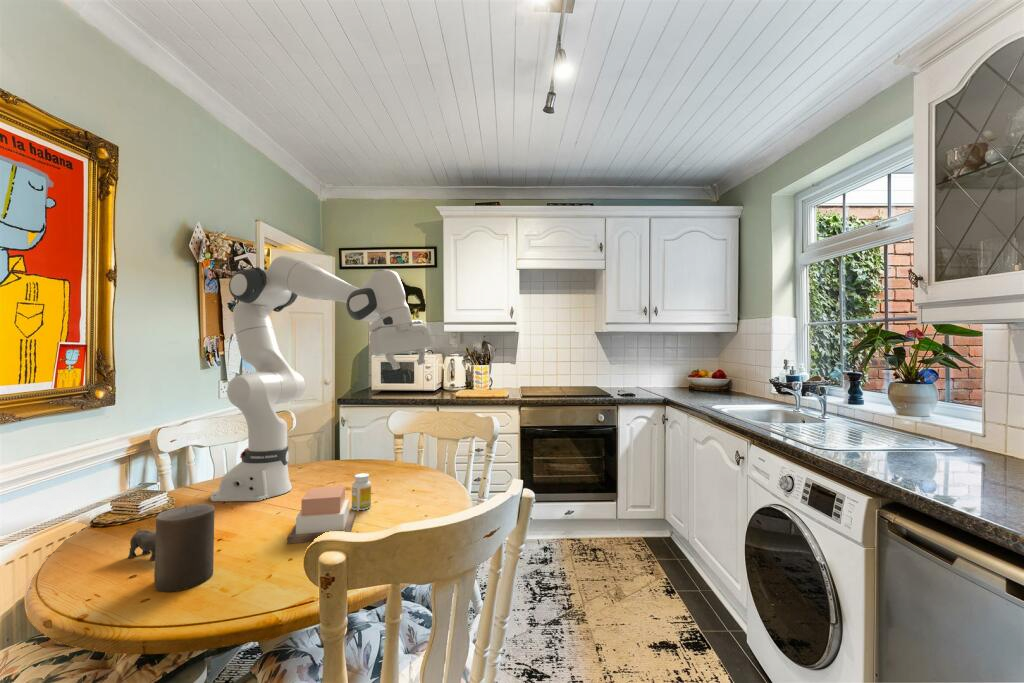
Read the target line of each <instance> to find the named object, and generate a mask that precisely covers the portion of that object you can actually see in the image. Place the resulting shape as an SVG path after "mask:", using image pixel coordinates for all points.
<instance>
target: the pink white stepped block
mask: <svg viewBox="0 0 1024 683" xmlns="http://www.w3.org/2000/svg"><path fill="white" fill-rule="evenodd" d="M345 497H346V486H345V485H343V486H342V485H341V486H340V485H338V486H325V487H311V488H308V489H307V490H306V493H305V494H304V495H303V497H302V499H301V509H300V511H299V512H298V514H297V515H296V517H295V524H296V534H305V533H317V532H328V531H340V530H344V528H345V525H346V522H347V518H348V515H349V512H350V499H349V498H348V499H346V498H345Z"/></svg>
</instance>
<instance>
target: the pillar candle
mask: <svg viewBox="0 0 1024 683" xmlns="http://www.w3.org/2000/svg"><path fill="white" fill-rule="evenodd" d="M155 518H156V519H155V532H156V544H155V561H154V573H153V574H154V576H153V577H154V578H153V580H154V581H153V584H154V589H155V590H156V591H159V592H164V593H165V592H166V593H168V592H169V593H172V592H179V591H183V590H187V589H191V588H194V587H196V586H197V587H198V585H201V584H203V583H205V582H206V581H208V580H209V579H211V577H212V576H213V575H214V560H215V559H214V556H215V553H214V551H215V506H214V505H213V504H207V503H197V504H190V505H189V504H188V505H186V504H185V505H183V506H178V507H174V508H170V509H167V510H164V511H161V512H159V514H157V515H156V517H155Z"/></svg>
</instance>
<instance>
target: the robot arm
mask: <svg viewBox="0 0 1024 683" xmlns="http://www.w3.org/2000/svg"><path fill="white" fill-rule="evenodd" d="M228 282H229V283H228V285H229V286H228V291H229V293H230V295H231V296H232V297H233V298H234V299H235V300H237V301H239V302H238V303H236V304H235V306H234V307H233V313H232V314H233V327H234V333H235V337H236V340H237V344H238V350H239V354H240V357H241V359H242V360H243V361H244V362H245V363H247V364H250V365H251V366H252V367H253V368H254V369H255V370H256V372H247V373H244V374H240V375H236V376H234V377H233V378H232V379H231V380H230V382H229V383H228V385H227V388H226V389H227V390H226V394H227V398H228V400H229V402H230V403H231V404H232V405H233V406H235V407H236V408H238V409H239V410H240V412H241V413H242V414H243V416H244V419H245V422H246V426H247V437H248V438H247V439H248V442H247V443H248V447H246V448H245V449H244V450H243V451H242V452H241V454H240V455H239V458H240V459H241V461H240V462H239V463H238V464H236V465H235V466H234V467H232V468H231V469H230V470H229V471H228V472H226V473H225V474H224V475H223V476H222V478H221V479H220V483H219V487H218V489H216V490H214V491H213V492H212V493H211V494H210V498H209V500H210V499H211V500H212V501H211V500H210V501H211V502H259V501H264V500H267V499H269V498H273V497H278V496H281V495H284V494H286V493H288V492H291V490H292V489H293V486H292V484H291V479H290V475H289V469H288V468H289V467H288V464H289V460H290V455H289V454H290V451H289V450H290V449H289V446H288V423H287V422H286V420H285V419H284V418H282V417H280V416H279V415H278V414H277V412H276V408H275V405H279V404H286V403H290V402H292V401H296V400H298V399H300V398H301V397H302V396H303V395H304V393H305V390H306V381H305V378H304V377H303V375H302V374H300V373H299V372H297V371H296V370H294V369H293V367H291V366H290V364H289V363H288V362H287V360H286V359H285V358H284V355H283V354H282V352H281V350H280V348H279V345H278V341H277V338H276V333H275V328H274V325H273V322H272V317H271V316H272V312H273V311H274V312H275V313H279V312H282V310H283V309H285V308H287V307H289V306H291V305H293V303H294V302H295V301H296V300H297V298H298V296H299V297H303V298H308V299H312V300H320V301H321V300H322V301H334V302H341V303H345V304H346V310H347V314H348V316H350V317H351V319H353V320H356V321H358V322H359V321H360V322H367V323H368V322H369V323H371V324H368V325H367V328H366V329H367V331H368V333H369V338H368V339H369V345H370V350H371V352H372V354H373V355H374V357H382V356H385V359H386V361H387V362H389V364H390V365H391V367H392V370H398V369H401V365H400V362H399V361H397V360H396V359H395V358H394V357H395V355H396V354H403V353H410V352H416V353H417V355H418V359H416V362H417V365H418V366H422V365H425V364H426V361H425V355H426V350H427V349H431V348H432V347H433V344H434V342H433V341H434V340H433V339H432V336H431V334H430V331H429V330H428V328H427V325H426V323H424V322H423V321H422V320H420V319H416V320H413V316H412V313H411V310H410V307H409V305H408V303H407V300H406V298H407V296H406V292H405V288H404V285H403V283H402V281H401V278H400V276H399V274H398V273H397V272H396V271H394V270H390V269H378V270H375V271H373V272H372V273H370V275H369V277H368V279H367V281H365V283H364V284H362V286H360V287H359V286H356V285H353V284H350V283H348V282H346V281H345V280H343V279H341V278H339V277H338V276H336V275H333V274H332V273H330V272H328V271H327V270H325V269H323V268H321V267H320V266H318V265H315V263H312V262H310V261H306V260H304V259H301V258H298V257H293V256H288V255H281V256H277V257H275V258H274V259H273V260H272V261H271V263H270V264H269V267H268V268H267V269H262V268H261V267H259V266H256V267H252V268H246V269H240V270H238V271H236V272H234V273H233V274H232V276H231V277H230V279H229V281H228ZM266 498H267V499H266ZM263 499H264V500H263Z"/></svg>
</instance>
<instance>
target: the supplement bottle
mask: <svg viewBox="0 0 1024 683" xmlns="http://www.w3.org/2000/svg"><path fill="white" fill-rule="evenodd" d="M369 480H370V474H369V473H363V472H362V473H357V474H355V475H354V482H352V485H351V509H352V510H353V511H355V510H357V511H356V512H360V511H359V510H363V511H366V510H365V509H367V510H369V509H370V508H371V506H372V483H371V481H369ZM368 508H369V509H368Z"/></svg>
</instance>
